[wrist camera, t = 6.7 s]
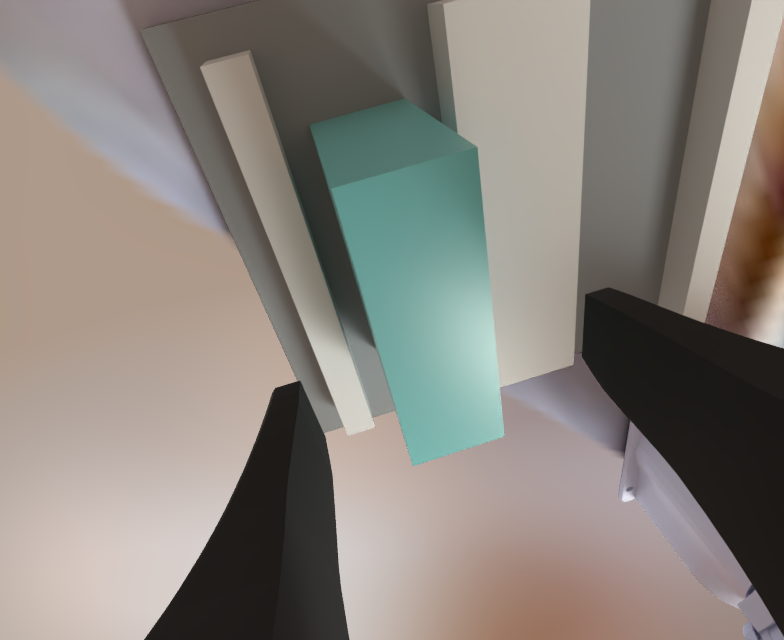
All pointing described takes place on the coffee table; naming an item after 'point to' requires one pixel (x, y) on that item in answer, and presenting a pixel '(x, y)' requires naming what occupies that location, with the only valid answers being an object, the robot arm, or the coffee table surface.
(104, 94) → the coffee table surface
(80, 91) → the coffee table surface
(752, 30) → the ribbed slotted plate
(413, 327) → the teal rectangular block
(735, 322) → the coffee table surface
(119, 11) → the coffee table surface
